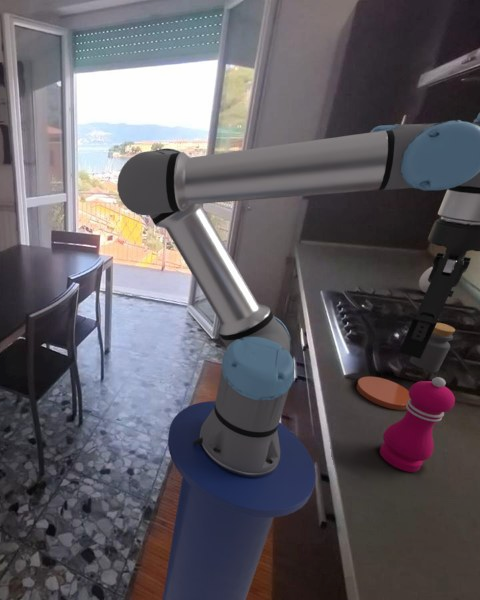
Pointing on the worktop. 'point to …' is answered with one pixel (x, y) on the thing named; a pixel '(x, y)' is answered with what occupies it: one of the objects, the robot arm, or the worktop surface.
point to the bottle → (435, 348)
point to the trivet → (383, 392)
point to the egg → (425, 280)
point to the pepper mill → (417, 425)
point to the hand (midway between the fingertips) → (416, 340)
